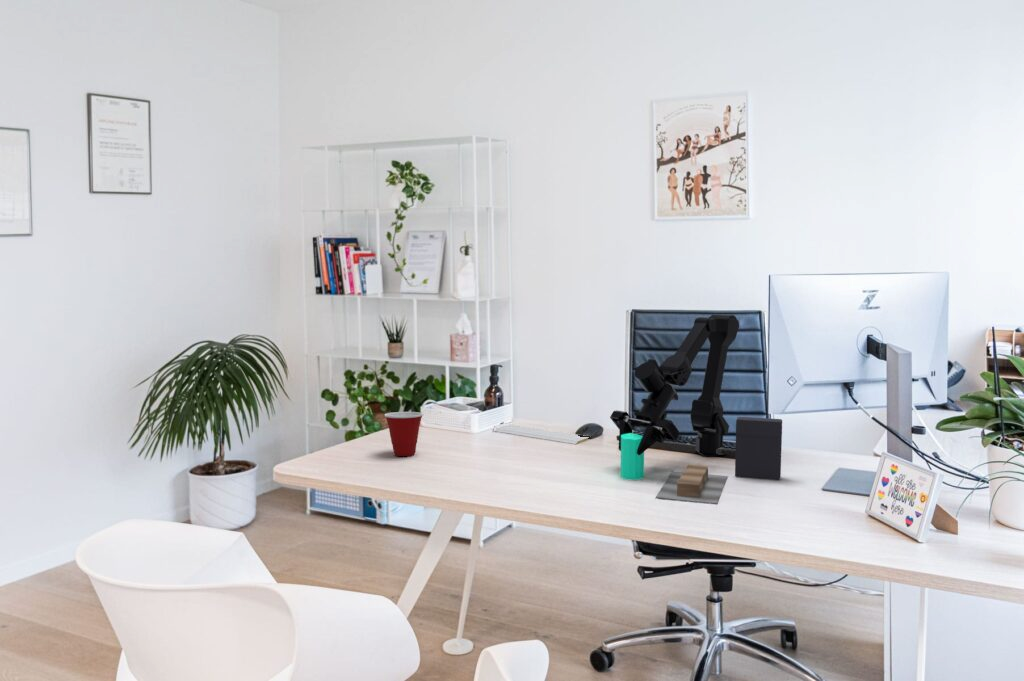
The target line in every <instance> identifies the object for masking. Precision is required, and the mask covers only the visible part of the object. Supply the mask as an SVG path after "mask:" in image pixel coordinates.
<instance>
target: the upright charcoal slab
mask: <svg viewBox="0 0 1024 681" xmlns="http://www.w3.org/2000/svg"><path fill="white" fill-rule="evenodd" d="M782 439H783V420H782V419H780V418H765V417H749V416H737V418H736V420H735V454H734V455H735V458H734V459H735V460H734V463H735V465H734V468H735V469H734V476H735V477H736V478H745V479H747V478H748V479H755V480H756V479H760V480H769V481H770V480H771V481H780V480H781V474H782V443H783V442H782Z"/></svg>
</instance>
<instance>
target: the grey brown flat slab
mask: <svg viewBox="0 0 1024 681" xmlns="http://www.w3.org/2000/svg"><path fill="white" fill-rule="evenodd" d="M727 479H728V475H722V474H721V475H720V474H709V465H703V464H702V465H701V464H689V463H688V464H687V465H686V467H685V469H684V471H671V472H670V473H669V475H668V477H667V478H666V480H665V482H664V483H663V485H662V487H661V488H660V490H659V491H658V492H657V495H655V499H656V498H658V499H657V500H665V499H670V500H669V501H676V500H680V501H679V502H687V501H689V503H698V502H699V503H700V504H708V503H711V505H718V503H719V500H720V498H721V494H722V492H723V490H724V487H725V485H726V482H727ZM659 498H660V499H659ZM699 503H698V504H699Z"/></svg>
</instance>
